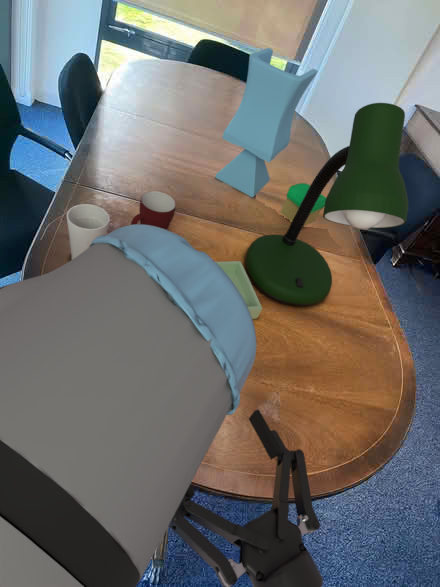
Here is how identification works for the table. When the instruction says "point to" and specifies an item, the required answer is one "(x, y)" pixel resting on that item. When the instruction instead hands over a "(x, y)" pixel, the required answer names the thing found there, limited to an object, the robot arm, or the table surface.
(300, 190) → the cake
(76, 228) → the cup
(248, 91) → the planter
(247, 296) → the tray
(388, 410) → the table surface
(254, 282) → the desk lamp
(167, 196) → the mug
